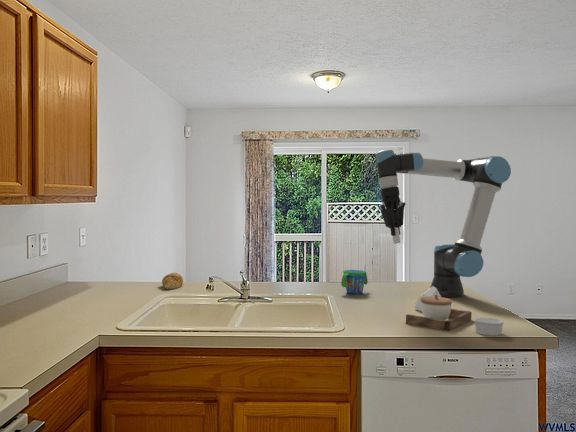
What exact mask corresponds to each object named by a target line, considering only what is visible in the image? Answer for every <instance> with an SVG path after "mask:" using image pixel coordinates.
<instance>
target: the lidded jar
mask: <svg viewBox="0 0 576 432" xmlns="http://www.w3.org/2000/svg"><path fill="white" fill-rule="evenodd" d="M452 304H453V301H452V299H450V298H448V297H444V296H441V297H438V295H435V297H423V298H421V310H422V311H421V312H422V315H423V317H428V318H434V319H440V320H446V321H447V320H448V318H450V317H449V315H450V312H451V309H452Z"/></svg>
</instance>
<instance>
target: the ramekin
mask: <svg viewBox="0 0 576 432" xmlns="http://www.w3.org/2000/svg"><path fill="white" fill-rule="evenodd" d="M474 324H475V325H474V326H475V329H474V330H475V332H476V333H477V334H479V335H483V336H489V337H496V336H498V337H499V336H500V335H502V334H503V325H504V320H502V319H499V318H494V317H489V316H488V317H487V316H485V317H484V316H481V317H475V318H474Z"/></svg>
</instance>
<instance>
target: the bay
mask: <svg viewBox="0 0 576 432" xmlns="http://www.w3.org/2000/svg"><path fill="white" fill-rule="evenodd" d="M448 318H449V319H446V320H440V319H434V318H428V317H424V316H422V315H421V316H419V315H415V314H408V313H407V314H405V324H408V325H412V326H419V327H422V328H423V327H425V328H429V329H430V328H431V329H433V330H434V329H435V330H440V331H445V330H447V331H446V332H449V331H450V332H451V331H452V330H455V329H456V328H458V327H461V326H462V325H464V324H467V323H469V322H470V321H472V311H470V310H461V309H454V308H451V312H450V315H449V317H448Z"/></svg>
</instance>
